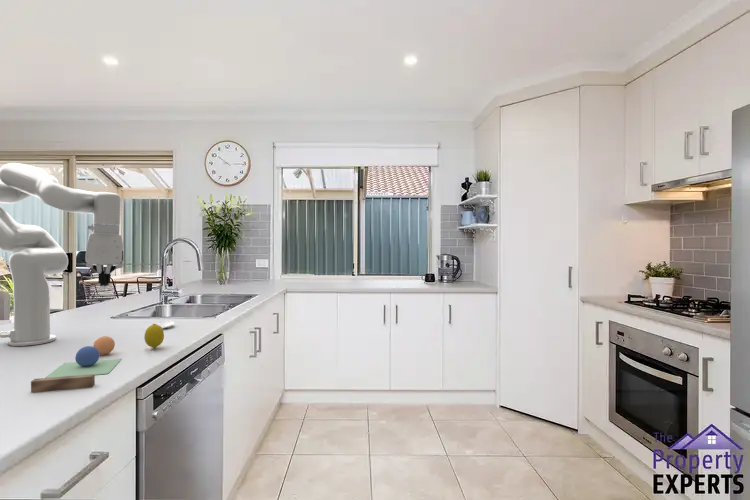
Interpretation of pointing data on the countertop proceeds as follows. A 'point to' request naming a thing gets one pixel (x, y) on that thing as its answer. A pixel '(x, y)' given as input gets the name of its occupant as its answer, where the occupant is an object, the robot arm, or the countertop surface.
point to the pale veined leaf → (165, 323)
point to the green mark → (84, 368)
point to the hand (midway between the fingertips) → (104, 285)
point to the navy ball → (87, 356)
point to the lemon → (154, 336)
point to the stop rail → (62, 383)
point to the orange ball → (104, 345)
